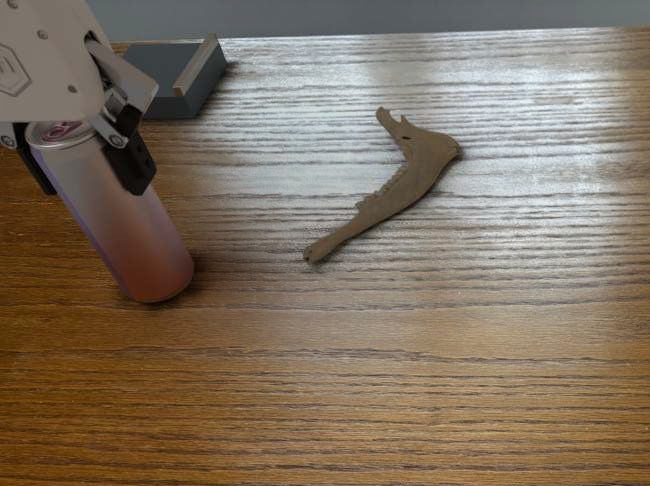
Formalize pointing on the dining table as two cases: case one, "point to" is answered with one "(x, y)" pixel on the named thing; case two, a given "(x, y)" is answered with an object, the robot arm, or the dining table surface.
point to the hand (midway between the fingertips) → (102, 181)
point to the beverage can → (112, 211)
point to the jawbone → (395, 180)
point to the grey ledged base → (178, 75)
